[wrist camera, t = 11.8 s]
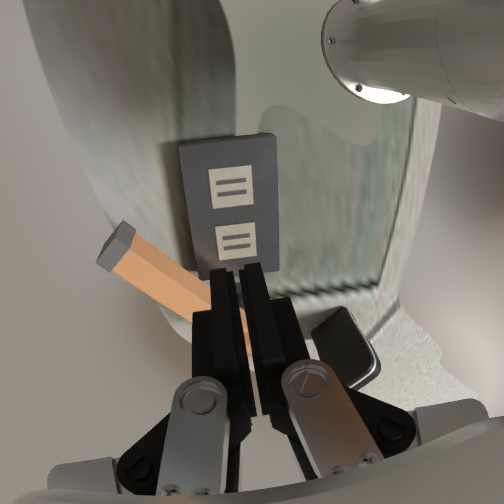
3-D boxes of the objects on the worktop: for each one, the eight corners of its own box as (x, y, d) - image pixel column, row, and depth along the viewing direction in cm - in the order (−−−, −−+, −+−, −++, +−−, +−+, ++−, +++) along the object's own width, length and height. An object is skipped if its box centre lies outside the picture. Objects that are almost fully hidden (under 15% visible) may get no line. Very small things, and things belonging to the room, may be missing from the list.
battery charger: (322, 342, 47) (346, 402, 38) (307, 333, 46) (331, 396, 36) (357, 314, 45) (389, 373, 36) (344, 303, 44) (377, 364, 34)
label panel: (271, 133, 30) (276, 137, 28) (275, 260, 38) (280, 272, 36) (179, 142, 29) (178, 147, 27) (199, 270, 37) (199, 282, 35)
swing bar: (125, 217, 28) (117, 235, 25) (269, 321, 37) (275, 342, 35) (102, 245, 29) (94, 264, 26) (245, 340, 38) (249, 361, 36)
